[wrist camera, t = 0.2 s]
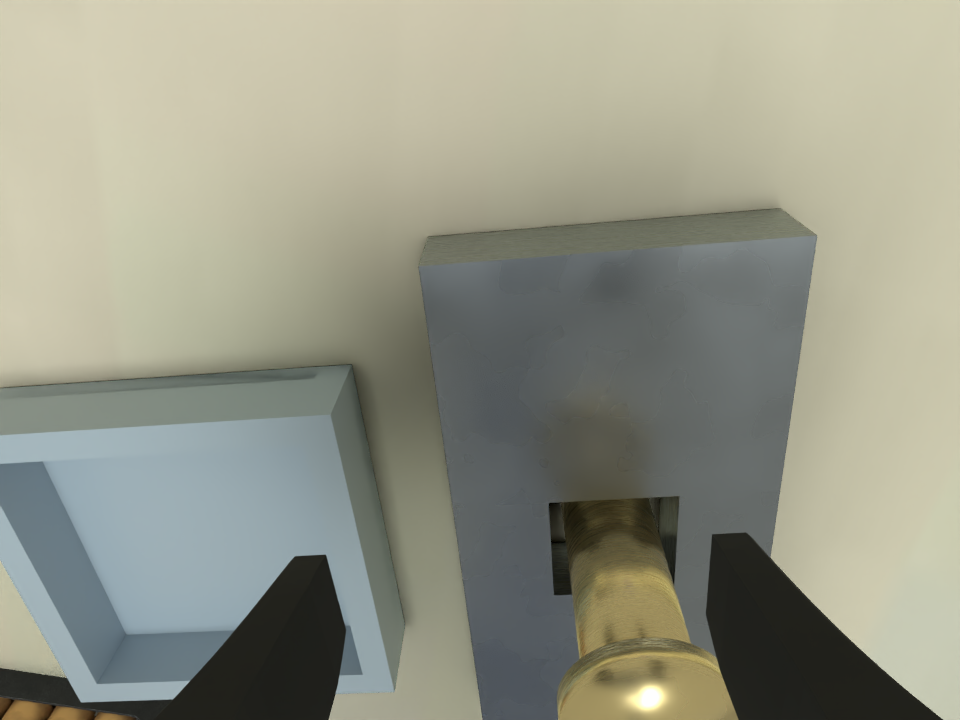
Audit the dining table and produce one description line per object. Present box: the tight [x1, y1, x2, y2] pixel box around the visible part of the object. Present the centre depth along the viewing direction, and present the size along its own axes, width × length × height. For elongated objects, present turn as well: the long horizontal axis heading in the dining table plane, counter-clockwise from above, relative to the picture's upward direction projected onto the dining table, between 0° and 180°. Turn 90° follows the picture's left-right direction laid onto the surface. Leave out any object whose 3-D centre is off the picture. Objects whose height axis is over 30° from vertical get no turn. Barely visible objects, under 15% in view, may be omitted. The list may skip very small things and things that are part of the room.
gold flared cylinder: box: [557, 498, 738, 720], centre depth 20 cm, size 4×4×9 cm
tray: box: [0, 364, 405, 702], centre depth 23 cm, size 12×12×3 cm
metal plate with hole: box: [419, 209, 817, 720], centre depth 23 cm, size 20×10×2 cm, turn 5°
